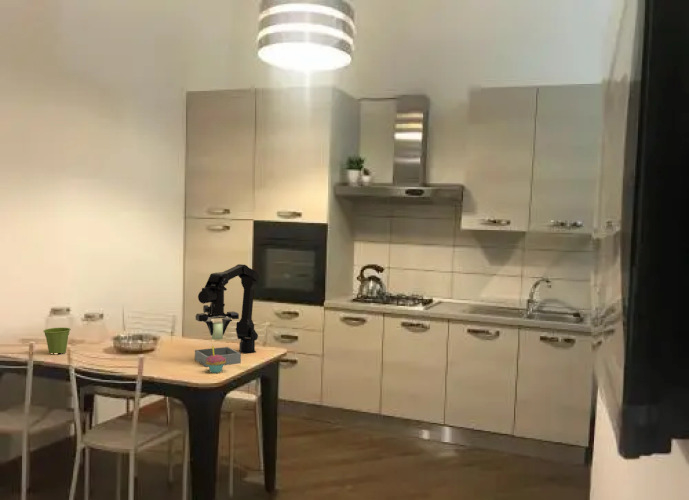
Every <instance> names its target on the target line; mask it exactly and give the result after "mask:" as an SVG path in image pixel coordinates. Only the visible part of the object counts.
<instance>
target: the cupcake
mask: <svg viewBox="0 0 689 500" xmlns="http://www.w3.org/2000/svg"><path fill="white" fill-rule="evenodd" d="M211 348H212V350H213V355H211V356H209V357H208V358H207V359H206V364H207V365H208V366H209V367H208V369H209V372H210V373H213V374H217V373H221V372H222V371H223V367H224V366H225V365H224V364H225V363H226V359H225V357H223V356H221V355H215V354H214V348H215V347H214V345H213V343H212V345H211Z"/></svg>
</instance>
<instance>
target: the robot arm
mask: <svg viewBox="0 0 689 500" xmlns="http://www.w3.org/2000/svg"><path fill="white" fill-rule="evenodd" d="M236 277H239V278H240V283H241V286H242V289H243V295H242V305H241V306H242V307H241V317H239V316H240V314H239V313H238V312H237V311H234V310H233V311H227V312H226V313H225V305H226V304H225V291H227V290H228V289H227V287H225V286H226V285H228V284H229V281H230V280H233V279H234V278H236ZM259 280H260V274H259V273H258V272H257V271H255V270H254V269H252V268H251V267H249V266H248V265H246V264H243V263H241V264H240V263H239V264H236V265H235V266H233V267H230V268H229V269H227V270H224V271H221V272H219V271H218V272H213V273H210V275H209V277H208V279H207V281H206V283H205V285H204V287H202V288H201V290H200V291H199V293H198V296H197V298H198V301H199V302H200V303H201V304H202V305H203V304H207V305H203V307H202V308H203V309H202V311H203V312H202V313H201V312H200V313H196V315H195V320H196V321H198V322H203V323H205V324H206V325H207V329H208V331H209V333H210V336H211V337H212V335H213V323H214V322H213V320H212V319H221V323H223V336H224V335H225V333H226V330H227V329H228V326H229V324H230V323H231V322H233V320H239V321H237V322H236V328H235V332H236V337H237V340H240V341H239V346H238V347H239V350H238V352H239V353H241V354H251V353H256V352H257V351H256V349H255V345H256V342H255V341H257V340H258V339H259V334H258V333H257V332H256V329H255V324H254V322H253V317H252V316H253V308H254V307H253V305H254V294H255V289H256V288H257V286H258V285H259ZM208 304H210V305H208ZM239 318H240V319H239Z"/></svg>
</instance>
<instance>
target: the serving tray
mask: <svg viewBox="0 0 689 500" xmlns="http://www.w3.org/2000/svg"><path fill="white" fill-rule="evenodd" d="M214 354H215V355H221V356H223V357H225V359H226V363H225V364H224V365H223V366H228V365H236V364H241V363H242V352H240V351H237V350H235V349H233V348H231V347H229V346H222V347H214ZM211 355H213V350H212V347H211V348H200V349H195V350H194V360H195V361H196V362H197V363H199V364H201V365H202V366H203V367H206V368H209V366H208V365H207V364H206V359H207V358H208V357H209V356H211Z"/></svg>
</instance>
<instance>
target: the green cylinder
mask: <svg viewBox="0 0 689 500" xmlns="http://www.w3.org/2000/svg"><path fill="white" fill-rule="evenodd" d="M223 339H224V335H223V322H222V321H221V322H220V321H217V322H215V321H214V322H213V335H212V336H211V340H218V341H219V340H223Z"/></svg>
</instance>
